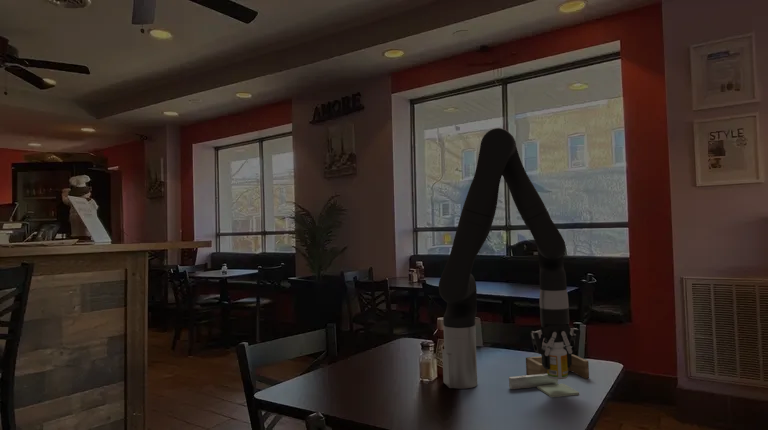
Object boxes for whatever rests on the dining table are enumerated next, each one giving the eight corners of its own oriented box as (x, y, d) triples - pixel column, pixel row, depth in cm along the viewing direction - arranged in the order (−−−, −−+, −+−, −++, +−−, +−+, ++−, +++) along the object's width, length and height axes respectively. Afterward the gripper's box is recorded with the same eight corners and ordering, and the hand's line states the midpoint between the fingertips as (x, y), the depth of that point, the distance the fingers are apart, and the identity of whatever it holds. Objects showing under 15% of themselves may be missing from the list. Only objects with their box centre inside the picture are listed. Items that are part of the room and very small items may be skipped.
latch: (511, 389, 144) (511, 374, 144) (509, 387, 145) (508, 373, 146) (558, 384, 146) (557, 370, 146) (555, 383, 148) (554, 369, 148)
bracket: (540, 382, 150) (539, 365, 150) (526, 373, 159) (525, 357, 159) (589, 378, 152) (588, 361, 152) (572, 369, 161) (571, 353, 161)
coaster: (551, 397, 137) (551, 395, 137) (537, 388, 145) (537, 386, 145) (579, 394, 138) (579, 392, 138) (563, 385, 146) (563, 383, 146)
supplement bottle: (565, 374, 144) (563, 339, 144) (570, 379, 138) (568, 343, 138) (545, 374, 144) (543, 339, 144) (549, 380, 139) (547, 343, 139)
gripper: (536, 309, 137) (539, 373, 136) (585, 306, 139) (588, 369, 139) (523, 305, 144) (526, 366, 144) (570, 302, 147) (573, 362, 146)
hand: (557, 367), depth 141 cm, fingers closed on supplement bottle, 5 cm apart
